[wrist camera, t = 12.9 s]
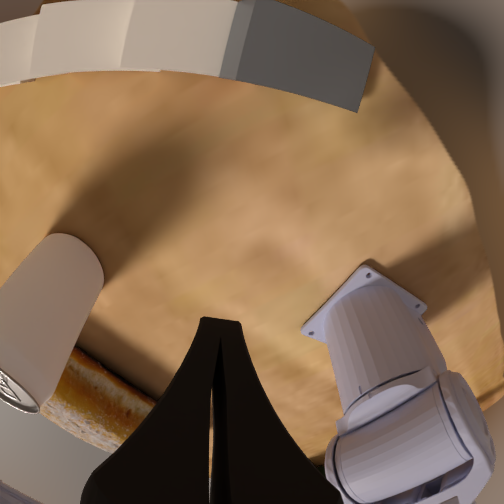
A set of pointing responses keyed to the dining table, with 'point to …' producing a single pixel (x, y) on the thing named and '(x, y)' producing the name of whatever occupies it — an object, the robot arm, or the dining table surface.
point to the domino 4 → (296, 54)
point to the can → (44, 317)
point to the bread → (96, 403)
